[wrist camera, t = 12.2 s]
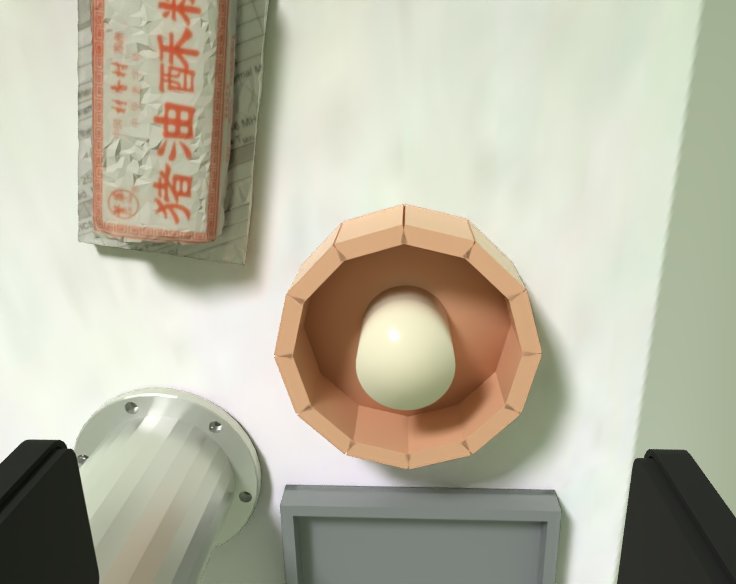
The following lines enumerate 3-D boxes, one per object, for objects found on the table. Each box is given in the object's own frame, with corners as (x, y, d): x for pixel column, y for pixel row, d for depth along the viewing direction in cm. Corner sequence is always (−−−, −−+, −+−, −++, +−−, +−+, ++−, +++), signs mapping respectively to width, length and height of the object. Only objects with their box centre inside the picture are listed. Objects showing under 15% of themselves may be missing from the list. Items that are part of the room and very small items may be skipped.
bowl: (409, 459, 43) (409, 507, 39) (247, 322, 41) (226, 356, 36) (571, 318, 39) (593, 353, 35) (403, 157, 37) (402, 171, 32)
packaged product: (39, -121, 29) (257, -88, 29) (88, -96, 34) (277, -68, 34) (48, 259, 35) (229, 287, 35) (89, 237, 40) (249, 261, 40)
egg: (406, 381, 41) (406, 427, 35) (344, 327, 40) (335, 366, 34) (467, 325, 39) (476, 365, 34) (404, 267, 38) (404, 300, 33)
